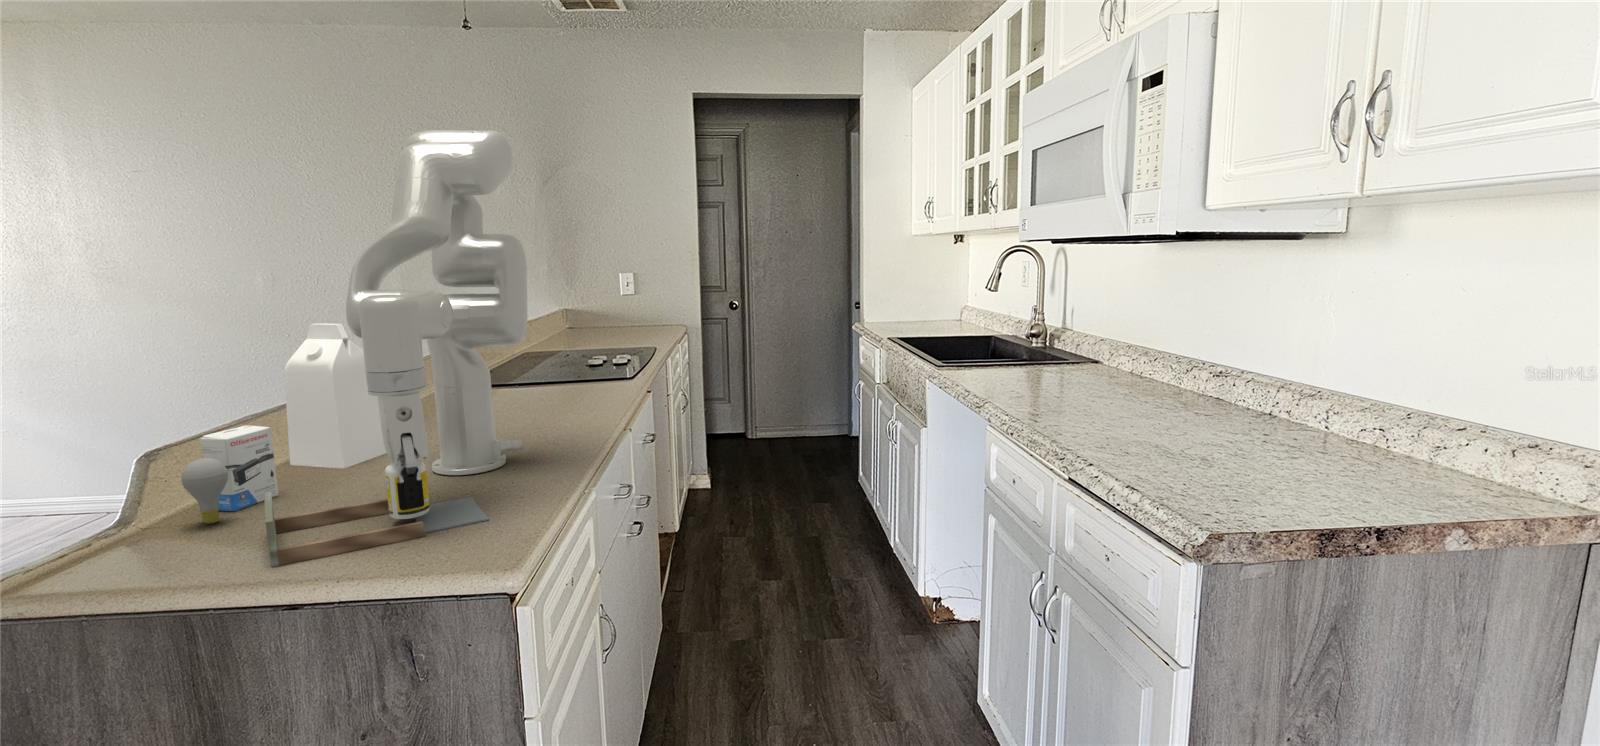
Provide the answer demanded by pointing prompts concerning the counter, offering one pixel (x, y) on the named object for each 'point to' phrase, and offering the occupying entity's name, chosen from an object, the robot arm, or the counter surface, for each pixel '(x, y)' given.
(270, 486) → the ink box
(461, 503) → the mat
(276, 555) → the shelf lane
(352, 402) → the milk
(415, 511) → the supplement bottle
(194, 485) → the light bulb
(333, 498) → the counter surface
